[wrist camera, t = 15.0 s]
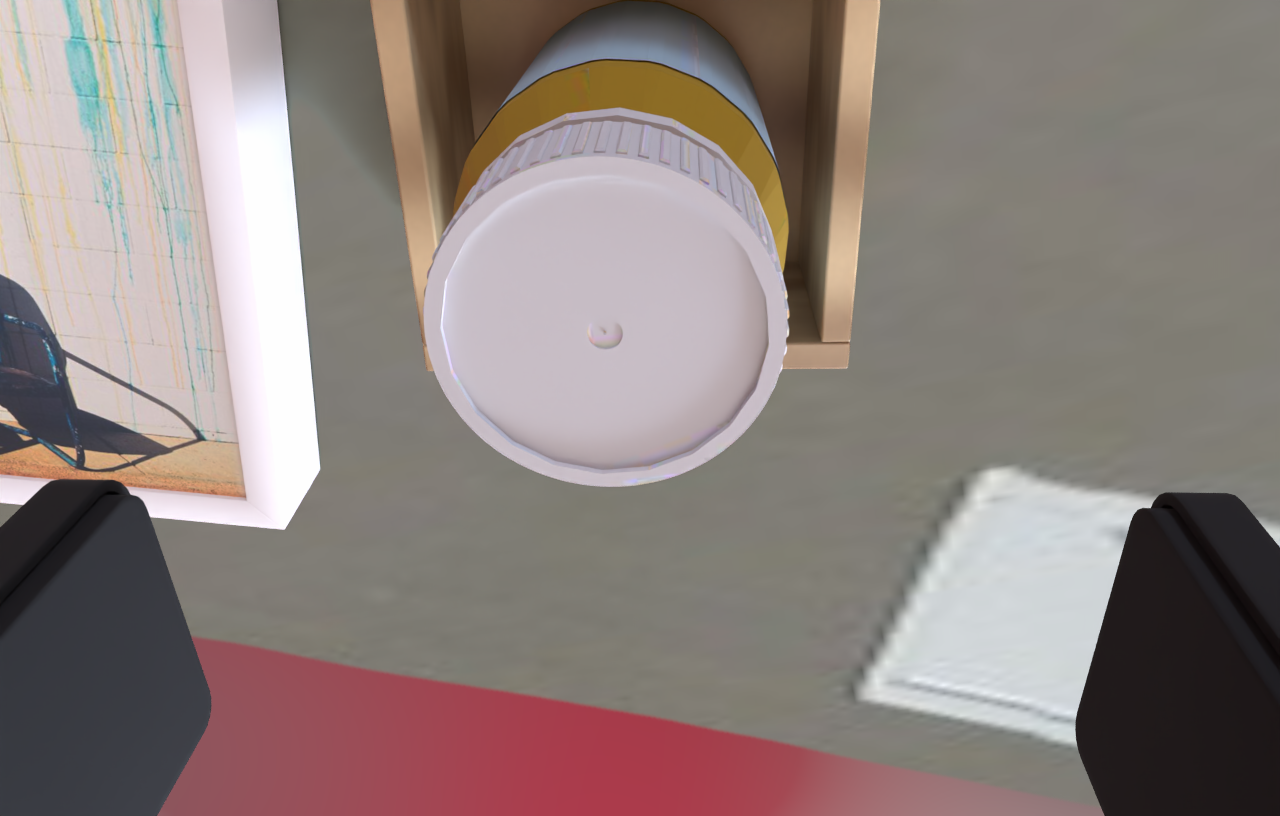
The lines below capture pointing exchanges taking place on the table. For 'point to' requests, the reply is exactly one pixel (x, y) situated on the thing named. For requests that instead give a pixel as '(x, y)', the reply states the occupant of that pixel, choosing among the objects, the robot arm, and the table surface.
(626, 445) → the bottle
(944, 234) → the table surface
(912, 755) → the table surface
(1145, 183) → the table surface
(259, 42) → the framed art
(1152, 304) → the table surface
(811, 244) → the holder
